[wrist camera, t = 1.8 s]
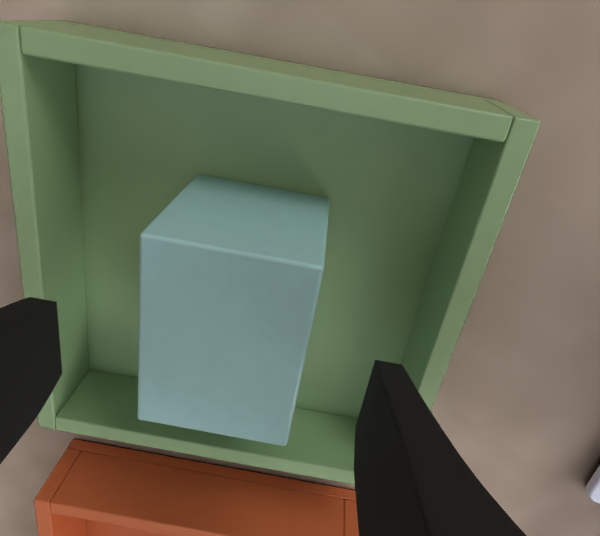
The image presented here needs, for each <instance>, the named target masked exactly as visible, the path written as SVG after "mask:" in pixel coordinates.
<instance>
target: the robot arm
mask: <svg viewBox="0 0 600 536" xmlns="http://www.w3.org/2000/svg"><path fill="white" fill-rule="evenodd" d="M61 375H62V363H61V350H60V337H59V325H58V312H57V302H55V301H50V300H44V299H39V298H33V297H28V298H25V299H23V300H20V301H17V302H14V303H12V304H10V305H7V306H5V307H2V308H0V464H1V462H2V461H3V460H4V459H5V457H6V456H7V455H8V454H9V452H10V451H11V450H12V448H13V447H14V446H15V445H16V443H17V442H18V441H19V439H20V438H21V437H22V435H23V434H24V433H25V431H26V430H27V429H28V428H29V426H30V425H31V424H32V422H33V421H34V420H35V418H36V417H37V416H38V414H39V413H40V411H41V410H42V408H43V406H44V405H45V403H46V401H47V400H48V398H49V396H50V395H51V393H52V391H53V389H54V388H55V386H56V384H57V382H58V380H59V379H60V377H61ZM354 479H355V493H356V506H357V518H358V530H359V536H526V535H525V533H524V532H523V531H522V530H521V529H520V528H519V527H518V526H517V525H516V524H515V523H514V522H513V520H512V519H511V518H510V517H509V516H508V515H507V513H506V512H505V511H504V510H503V509H502V508H501V507H500V505H499V504H498V503H497V502H496V501H495V500H494V498H493V497H492V496H491V495H490V494H489V493H488V491H487V490H486V489H485V488H484V486H483V485H482V484H481V483H480V481H479V480H478V479H477V478H476V476H475V475H474V474H473V472H472V471H471V470H470V468H469V467H468V466H467V464H466V463H465V462H464V460H463V459H462V458H461V456H460V455H459V453H458V452H457V451H456V449H455V448H454V446H453V445H452V443H451V442H450V440H449V439H448V437H447V436H446V434H445V433H444V431H443V430H442V428H441V427H440V425H439V424H438V422H437V421H436V419H435V418H434V416H433V414H432V413H431V411H430V410H429V408H428V406H427V405H426V403H425V402H424V400H423V398H422V397H421V395H420V393H419V392H418V390H417V388H416V387H415V385H414V383H413V381H412V380H411V378H410V376H409V375H408V373H407V371H406V370H405V368H404V367H403V365H402V364H396V363H391V362H385V361H380V360H375V362H374V365H373V369H372V372H371V375H370V379H369V382H368V386H367V389H366V393H365V396H364V399H363V403H362V406H361V410H360V413H359V416H358V420H357V423H356V427H355V448H354ZM585 489H586V492H587V494H588V496H589V498H590V499H591V500H592V501H594V502H596V503H600V465H599V466H598V468H597V470H596V471H595V473H594V474H593V476H592V477H591V479H590V481H589V482H588V484H587V485H586V488H585Z"/></svg>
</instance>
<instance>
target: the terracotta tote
mask: <svg viewBox="0 0 600 536" xmlns="http://www.w3.org/2000/svg"><path fill="white" fill-rule="evenodd" d="M34 505H35V513H36V520H37V528H38V535H39V536H359V530H358V518H357V506H356V493H355V490H349V489H344V488H338V487H333V486H328V485H322V484H317V483H311V482H306V481H300V480H295V479H289V478H284V477H279V476H273V475H268V474H262V473H257V472H251V471H246V470H240V469H235V468H230V467H224V466H219V465H213V464H208V463H202V462H197V461H191V460H186V459H181V458H175V457H170V456H164V455H159V454H153V453H148V452H142V451H137V450H132V449H126V448H121V447H115V446H110V445H104V444H99V443H93V442H88V441H83V440H77V439H73V440H72V442H71V443H70V445H69V447H68V449H67V450H66V451H65V453H64V454H63V456H62V458H61V459H60V461H59V462H58V464H57V465H56V467H55V468H54V470H53V471H52V473H51V474H50V476H49V478H48V479H47V481H46V482H45V484H44V485H43V487H42V488H41V490H40V491H39V493H38V495H37V496H36V498H35V499H34Z"/></svg>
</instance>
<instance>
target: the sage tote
mask: <svg viewBox="0 0 600 536" xmlns="http://www.w3.org/2000/svg"><path fill="white" fill-rule="evenodd" d="M0 93H1V102H2V110H3V119H4V128H5V137H6V145H7V154H8V163H9V172H10V181H11V189H12V198H13V207H14V216H15V224H16V233H17V242H18V251H19V259H20V268H21V277H22V286H23V294H24V299H25V298H28V297H33V298H39V299H44V300H50V301H55V302H57V312H58V325H59V337H60V350H61V363H62V375H61V377H60V379H59V380H58V382H57V384H56V386H55V388H54V389H53V391H52V393H51V395H50V396H49V398H48V400H47V401H46V403H45V405H44V406H43V408H42V410H41V411H40V413H39V414H38V416H37V417H38V425H39V426H40V427H44V428H49V429H57V430H59V431H65V432H70V433H76V434H81V435H87V436H92V437H98V438H103V439H108V440H114V441H119V442H125V443H130V444H136V445H141V446H147V447H152V448H157V449H163V450H168V451H174V452H179V453H185V454H190V455H196V456H201V457H206V458H212V459H217V460H223V461H228V462H234V463H239V464H245V465H250V466H255V467H261V468H266V469H272V470H277V471H283V472H288V473H294V474H299V475H304V476H310V477H315V478H321V479H326V480H332V481H337V482H342V483H348V484H353V485H355V479H354V448H355V427H356V423H357V420H358V416H359V413H360V410H361V406H362V403H363V399H364V396H365V393H366V389H367V386H368V382H369V379H370V375H371V372H372V369H373V365H374V362H375V360H380V361H385V362H391V363H396V364H402V365H403V367H404V368H405V370H406V371H407V373H408V375H409V376H410V378H411V380H412V381H413V383H414V385H415V387H416V388H417V390H418V392H419V393H420V395H421V397H422V398H423V400H424V402H425V403H426V405H427V406H428V408H429V410H430V411H431V409H432V406H433V404H434V401H435V398H436V396H437V393H438V391H439V388H440V385H441V383H442V380H443V377H444V375H445V372H446V370H447V367H448V364H449V362H450V359H451V356H452V354H453V351H454V349H455V346H456V343H457V341H458V338H459V336H460V333H461V330H462V328H463V325H464V322H465V320H466V317H467V315H468V312H469V309H470V307H471V304H472V301H473V299H474V296H475V294H476V291H477V288H478V286H479V283H480V280H481V278H482V275H483V273H484V270H485V267H486V265H487V262H488V259H489V257H490V254H491V252H492V249H493V246H494V244H495V241H496V238H497V236H498V233H499V231H500V228H501V225H502V223H503V220H504V218H505V215H506V212H507V210H508V207H509V204H510V202H511V199H512V197H513V194H514V191H515V189H516V186H517V183H518V181H519V178H520V176H521V173H522V170H523V168H524V165H525V162H526V160H527V157H528V155H529V152H530V149H531V147H532V144H533V141H534V139H535V136H536V134H537V131H538V128H539V126H540V121H539V120H537V119H535V118H533V117H531V116H529V115H527V114H525V113H523V112H521V111H519V110H518V109H516V108H514V107H512V106H510V105H508V104H506V103H504V102H502V101H498V100H493V99H487V98H482V97H477V96H471V95H466V94H460V93H455V92H449V91H444V90H438V89H433V88H428V87H422V86H417V85H411V84H406V83H400V82H395V81H390V80H384V79H379V78H373V77H368V76H362V75H357V74H351V73H346V72H341V71H335V70H330V69H324V68H319V67H313V66H308V65H302V64H297V63H292V62H286V61H281V60H275V59H270V58H264V57H259V56H254V55H248V54H243V53H237V52H232V51H226V50H221V49H215V48H210V47H205V46H199V45H194V44H188V43H183V42H177V41H172V40H167V39H161V38H156V37H150V36H145V35H139V34H134V33H128V32H123V31H118V30H112V29H107V28H101V27H96V26H90V25H85V24H80V23H74V22H69V21H63V20H55V21H0ZM199 174H200V175H205V176H211V177H216V178H222V179H227V180H233V181H238V182H243V183H249V184H254V185H260V186H265V187H271V188H276V189H282V190H287V191H292V192H298V193H303V194H309V195H314V196H320V197H325V198H328V199H329V200H330V205H329V216H328V228H327V239H326V251H325V262H324V271H323V276H322V281H321V286H320V290H319V295H318V300H317V305H316V309H315V314H314V319H313V324H312V328H311V333H310V338H309V343H308V348H307V352H306V357H305V362H304V367H303V371H302V376H301V381H300V386H299V390H298V395H297V400H296V405H295V410H294V414H293V419H292V424H291V429H290V433H289V438H288V443H287V444H286V446H281V445H275V444H270V443H264V442H259V441H253V440H248V439H243V438H237V437H232V436H226V435H221V434H215V433H210V432H204V431H199V430H194V429H188V428H183V427H177V426H172V425H166V424H161V423H155V422H150V421H145V420H140V419H138V341H139V262H140V234H141V233H142V232H143V231H144V230H145V228H146V227H147V226H148V225H149V224H150V223H151V222H152V221H153V220H154V219H155V218H156V217H157V216H158V215H159V214H160V213H161V212H162V211H163V210H164V209H165V208H166V207H167V206H168V204H169V203H170V202H171V201H172V200H173V199H174V198H175V197H176V196H177V195H178V194H179V193H180V192H181V191H182V190H183V189H184V188H185V187H186V186H187V185H188V184H189V183H190V182H191V181H192V179H193V178H194V177H195V176H196V175H199Z"/></svg>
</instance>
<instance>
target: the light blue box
mask: <svg viewBox="0 0 600 536" xmlns="http://www.w3.org/2000/svg"><path fill="white" fill-rule="evenodd" d="M329 205H330V200H329V199H328V198H325V197H320V196H314V195H309V194H303V193H298V192H292V191H287V190H282V189H276V188H271V187H265V186H260V185H254V184H249V183H243V182H238V181H233V180H227V179H222V178H216V177H211V176H205V175H200V174H199V175H196V176H195V177H194V178H193V179H192V181H191V182H190V183H189V184H188V185H187V186H186V187H185V188H184V189H183V190H182V191H181V192H180V193H179V194H178V195H177V196H176V197H175V198H174V199H173V200H172V201H171V202H170V203H169V204H168V206H167V207H166V208H165V209H164V210H163V211H162V212H161V213H160V214H159V215H158V216H157V217H156V218H155V219H154V220H153V221H152V222H151V223H150V224H149V225H148V226H147V227H146V228H145V230H144V231H143V232H142V233H141V234H140V262H139V341H138V419H140V420H145V421H150V422H155V423H161V424H166V425H172V426H177V427H183V428H188V429H194V430H199V431H204V432H210V433H215V434H221V435H226V436H232V437H237V438H243V439H248V440H253V441H259V442H264V443H270V444H275V445H281V446H286V444H287V443H288V438H289V433H290V429H291V424H292V419H293V414H294V410H295V405H296V400H297V395H298V390H299V386H300V381H301V376H302V371H303V367H304V362H305V357H306V352H307V348H308V343H309V338H310V333H311V328H312V324H313V319H314V314H315V309H316V305H317V300H318V295H319V290H320V286H321V281H322V276H323V271H324V262H325V251H326V239H327V228H328V216H329Z"/></svg>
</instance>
